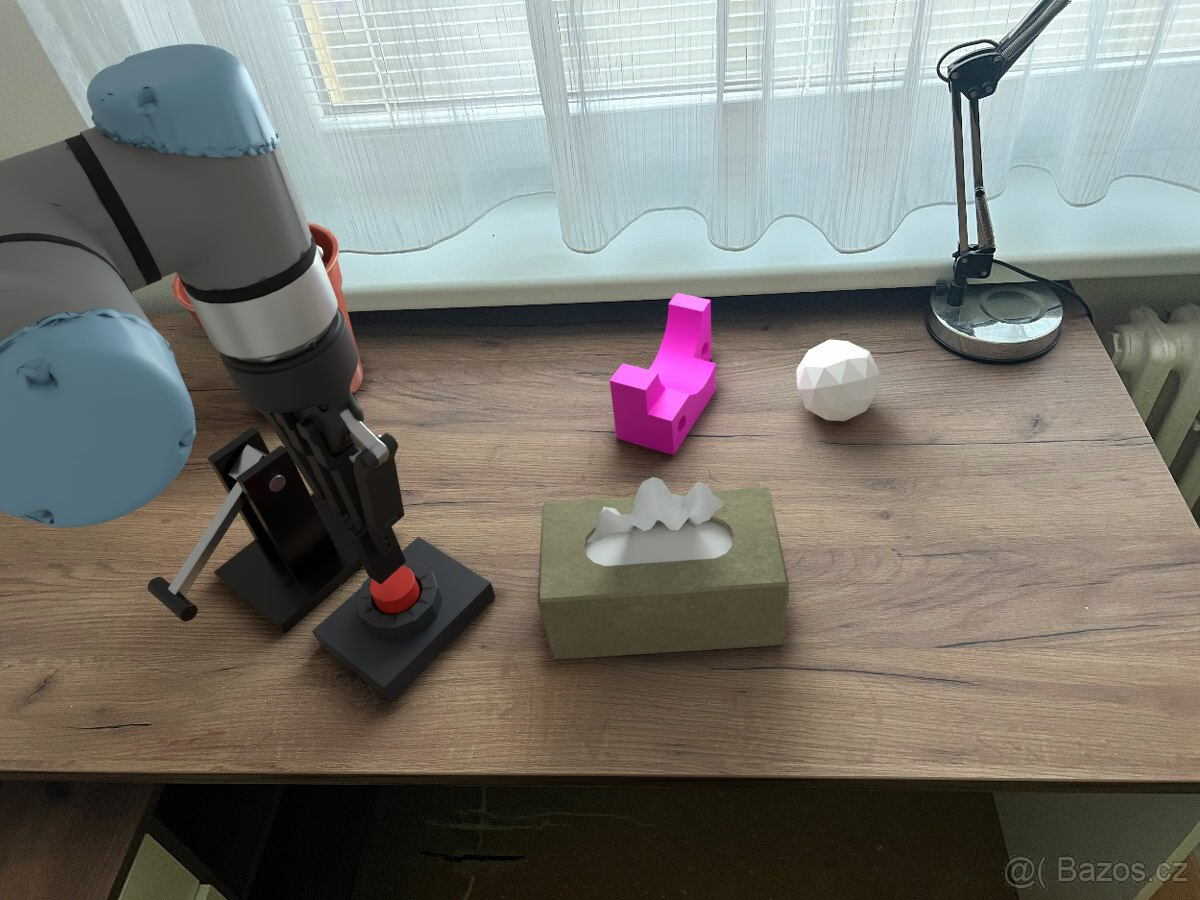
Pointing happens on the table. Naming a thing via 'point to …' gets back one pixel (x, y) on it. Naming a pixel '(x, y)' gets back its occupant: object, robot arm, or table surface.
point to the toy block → (668, 381)
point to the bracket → (283, 537)
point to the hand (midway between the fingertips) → (387, 568)
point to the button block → (405, 621)
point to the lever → (204, 544)
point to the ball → (837, 380)
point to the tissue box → (662, 572)
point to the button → (396, 591)
